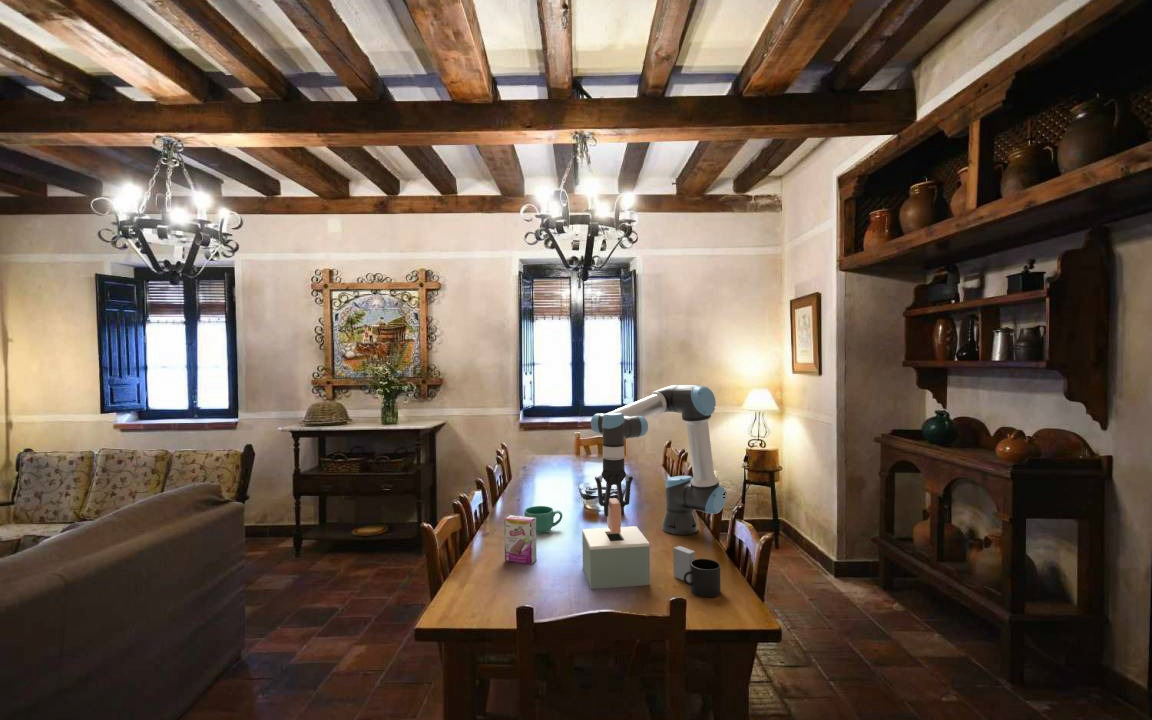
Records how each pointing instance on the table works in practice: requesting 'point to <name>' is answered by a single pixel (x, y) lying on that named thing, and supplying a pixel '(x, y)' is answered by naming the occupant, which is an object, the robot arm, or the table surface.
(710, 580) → the mug
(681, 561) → the grey rectangular block
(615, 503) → the pink rectangular block
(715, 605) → the table surface
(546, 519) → the mug
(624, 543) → the pale green white box
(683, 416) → the robot arm
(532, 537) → the candy bar box
